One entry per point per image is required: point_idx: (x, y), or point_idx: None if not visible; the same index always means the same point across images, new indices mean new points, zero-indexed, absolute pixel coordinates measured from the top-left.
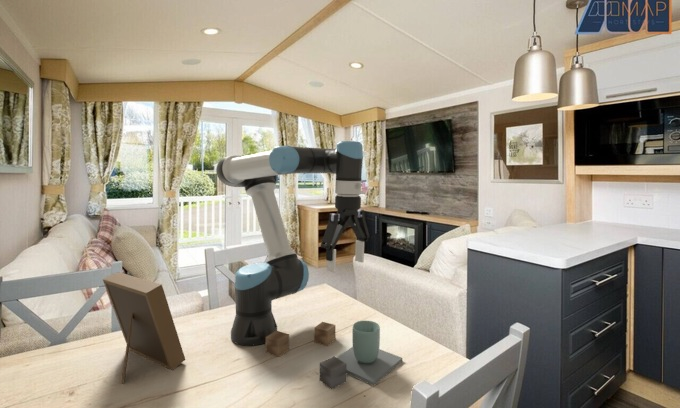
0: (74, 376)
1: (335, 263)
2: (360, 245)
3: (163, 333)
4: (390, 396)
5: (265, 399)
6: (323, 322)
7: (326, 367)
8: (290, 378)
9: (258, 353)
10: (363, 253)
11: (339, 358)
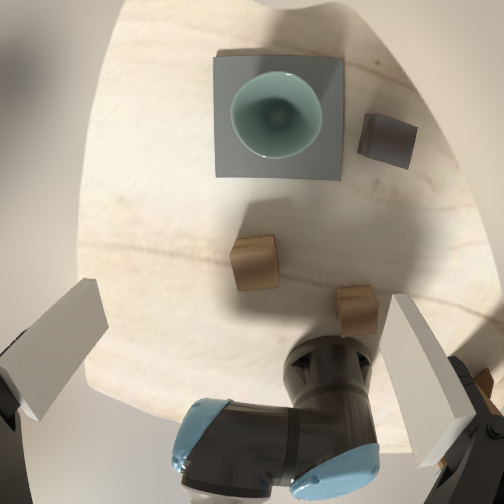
0: None
1: (417, 329)
2: (35, 366)
3: (486, 400)
4: (346, 22)
5: (471, 210)
6: (239, 286)
7: (413, 145)
8: (415, 215)
9: (377, 319)
10: (52, 309)
11: (314, 170)
